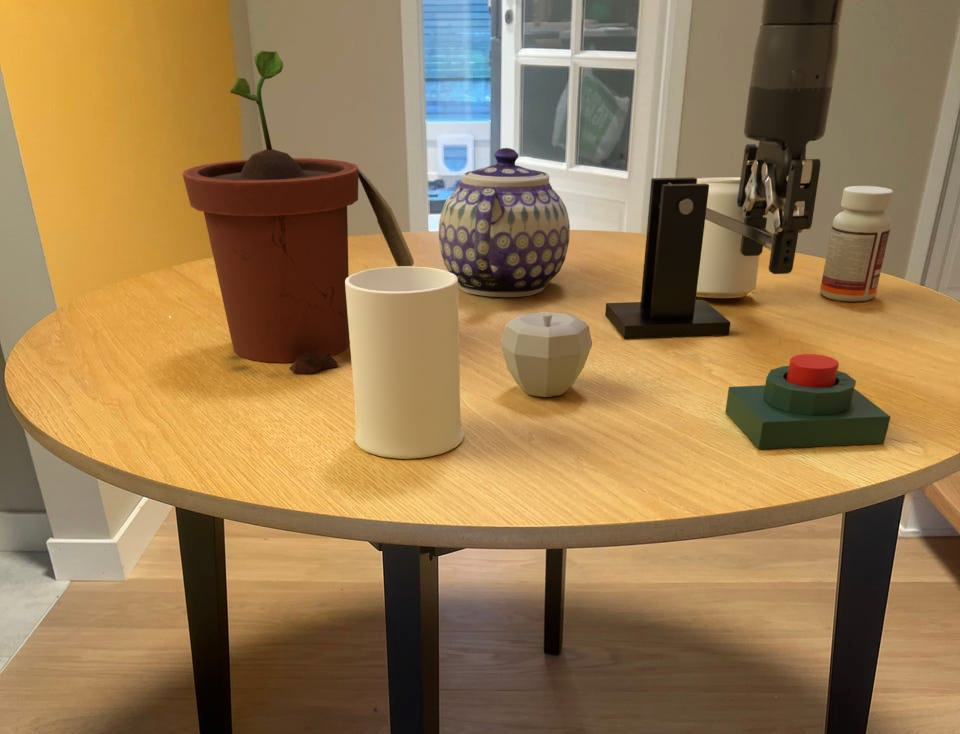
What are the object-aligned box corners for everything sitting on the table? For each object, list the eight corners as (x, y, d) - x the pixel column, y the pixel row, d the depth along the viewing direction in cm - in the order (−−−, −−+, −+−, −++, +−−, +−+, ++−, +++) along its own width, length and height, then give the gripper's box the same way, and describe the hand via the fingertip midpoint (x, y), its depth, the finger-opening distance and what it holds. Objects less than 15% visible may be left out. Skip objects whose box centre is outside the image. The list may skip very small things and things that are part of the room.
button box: (840, 407, 79) (850, 359, 77) (884, 443, 72) (897, 392, 70) (724, 412, 78) (731, 364, 76) (758, 449, 72) (767, 398, 69)
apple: (593, 407, 79) (598, 328, 76) (499, 406, 79) (500, 328, 76) (586, 376, 86) (590, 302, 82) (499, 376, 86) (500, 302, 82)
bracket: (702, 311, 104) (720, 173, 96) (729, 335, 96) (750, 187, 89) (605, 315, 103) (614, 175, 95) (623, 338, 96) (635, 190, 88)
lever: (763, 250, 99) (774, 227, 98) (781, 261, 95) (793, 237, 94) (653, 204, 95) (663, 179, 94) (667, 213, 91) (678, 187, 90)
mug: (372, 403, 80) (362, 254, 74) (472, 405, 80) (470, 256, 73) (344, 458, 71) (329, 292, 64) (458, 461, 70) (454, 294, 63)
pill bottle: (853, 287, 112) (874, 183, 106) (886, 300, 107) (911, 192, 101) (808, 291, 111) (827, 186, 105) (839, 304, 106) (862, 195, 100)
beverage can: (743, 301, 104) (756, 180, 98) (672, 296, 107) (682, 179, 102) (763, 291, 110) (776, 177, 104) (696, 287, 113) (705, 177, 108)
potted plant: (264, 314, 104) (229, 47, 90) (451, 329, 99) (445, 48, 85) (179, 363, 90) (121, 55, 76) (392, 382, 85) (372, 56, 71)
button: (823, 374, 75) (827, 352, 74) (842, 390, 72) (846, 367, 71) (779, 376, 75) (783, 354, 74) (796, 391, 72) (800, 369, 71)
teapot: (544, 319, 102) (549, 165, 93) (409, 310, 105) (403, 161, 97) (584, 267, 122) (591, 137, 113) (470, 261, 125) (469, 134, 117)
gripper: (863, 85, 83) (827, 278, 92) (800, 76, 94) (774, 248, 103) (780, 87, 82) (752, 281, 91) (728, 78, 94) (708, 250, 103)
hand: (764, 263), depth 97 cm, fingers open, 8 cm apart
